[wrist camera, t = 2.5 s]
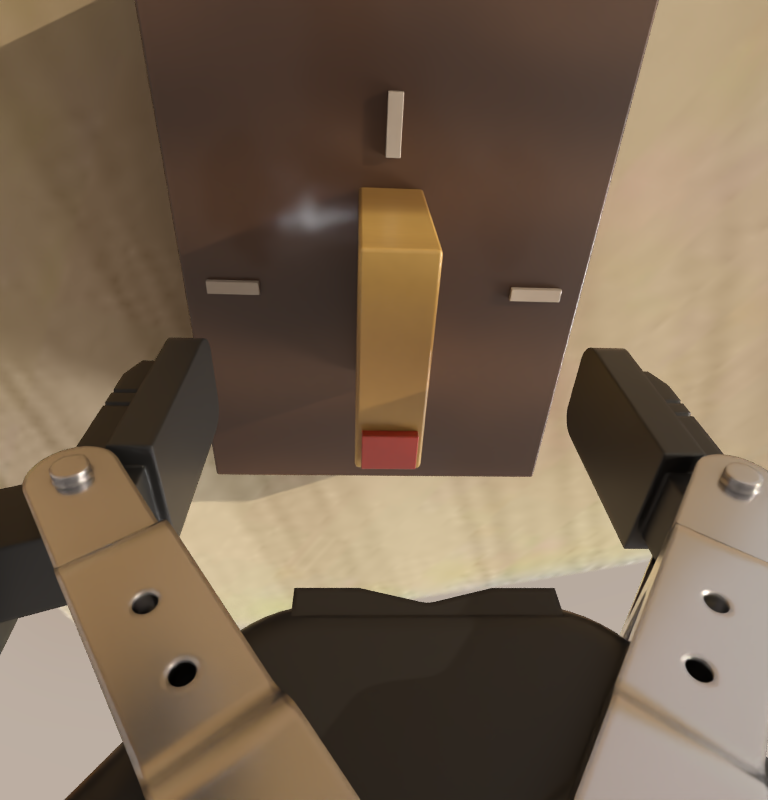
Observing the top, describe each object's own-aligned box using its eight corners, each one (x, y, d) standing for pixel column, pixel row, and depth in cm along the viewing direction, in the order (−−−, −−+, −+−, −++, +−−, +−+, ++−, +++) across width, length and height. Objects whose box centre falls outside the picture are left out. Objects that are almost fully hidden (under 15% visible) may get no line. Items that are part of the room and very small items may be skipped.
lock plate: (167, -37, 14) (123, -45, 11) (612, -13, 14) (667, -15, 12) (232, 421, 22) (215, 478, 19) (514, 425, 22) (533, 481, 20)
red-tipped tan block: (358, 186, 14) (358, 252, 10) (423, 188, 14) (445, 255, 10) (355, 374, 17) (354, 475, 13) (408, 375, 17) (421, 476, 14)
